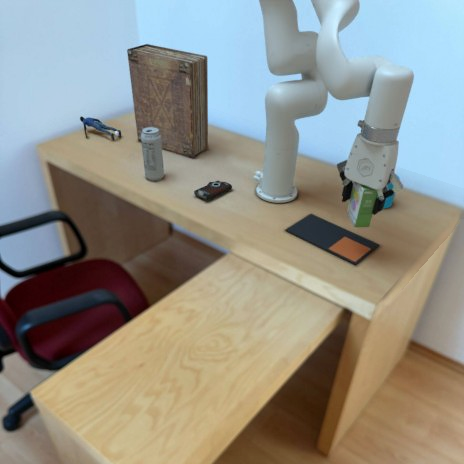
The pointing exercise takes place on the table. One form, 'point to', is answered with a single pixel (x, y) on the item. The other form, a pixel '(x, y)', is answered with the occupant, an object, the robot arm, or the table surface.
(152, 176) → the energy drink can
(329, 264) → the table surface
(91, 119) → the person figurine
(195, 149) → the book
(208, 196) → the camera
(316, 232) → the desk mat
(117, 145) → the table surface
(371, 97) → the robot arm
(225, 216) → the table surface
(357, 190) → the ink box
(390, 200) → the mug
